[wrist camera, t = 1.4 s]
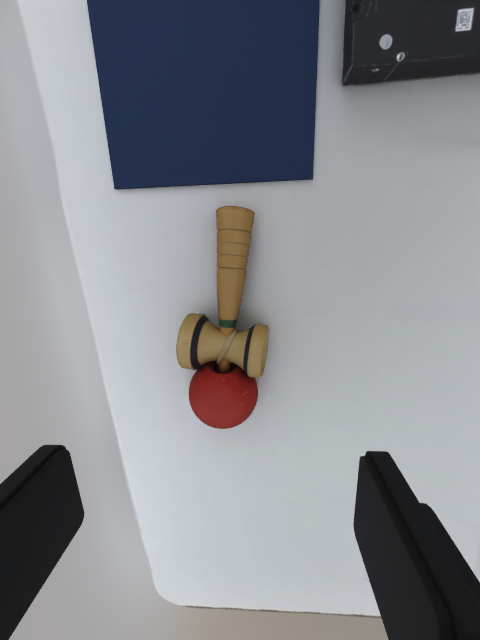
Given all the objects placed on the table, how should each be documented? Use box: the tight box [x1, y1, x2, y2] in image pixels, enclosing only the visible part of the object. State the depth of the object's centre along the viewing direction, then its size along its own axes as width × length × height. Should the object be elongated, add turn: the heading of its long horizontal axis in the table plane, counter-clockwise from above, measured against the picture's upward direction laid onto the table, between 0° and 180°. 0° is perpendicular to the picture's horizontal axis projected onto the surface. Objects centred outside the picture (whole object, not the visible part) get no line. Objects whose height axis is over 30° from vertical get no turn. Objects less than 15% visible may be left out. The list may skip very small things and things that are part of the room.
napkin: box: [87, 0, 319, 189], centre depth 19 cm, size 20×16×1 cm
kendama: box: [176, 206, 269, 429], centre depth 23 cm, size 8×6×18 cm
